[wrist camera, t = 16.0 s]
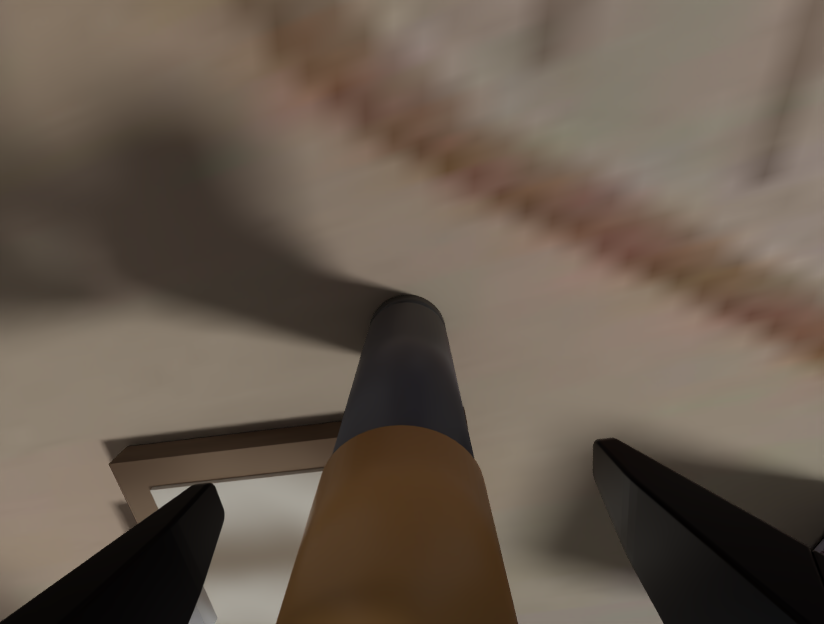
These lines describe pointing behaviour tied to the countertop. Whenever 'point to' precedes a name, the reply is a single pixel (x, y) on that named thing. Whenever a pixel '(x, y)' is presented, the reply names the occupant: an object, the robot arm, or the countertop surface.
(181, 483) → the clipboard
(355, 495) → the marker
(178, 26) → the countertop surface
